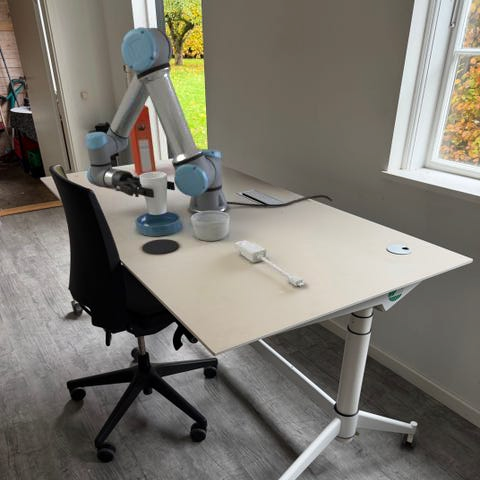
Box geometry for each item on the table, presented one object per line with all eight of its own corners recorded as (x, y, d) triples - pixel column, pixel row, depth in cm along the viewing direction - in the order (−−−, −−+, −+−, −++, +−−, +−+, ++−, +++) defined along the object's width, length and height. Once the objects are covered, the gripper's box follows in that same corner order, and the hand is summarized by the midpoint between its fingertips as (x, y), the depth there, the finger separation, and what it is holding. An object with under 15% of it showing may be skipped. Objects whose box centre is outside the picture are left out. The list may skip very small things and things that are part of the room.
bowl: (182, 220, 178) (181, 210, 176) (180, 236, 165) (179, 225, 163) (139, 221, 178) (138, 212, 176) (133, 237, 164) (132, 227, 162)
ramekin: (212, 226, 172) (212, 207, 169) (237, 235, 164) (237, 216, 161) (184, 236, 164) (183, 216, 161) (209, 246, 156) (208, 226, 153)
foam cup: (148, 218, 163) (143, 180, 156) (140, 210, 170) (135, 174, 163) (174, 213, 166) (170, 176, 159) (165, 206, 173) (161, 170, 166)
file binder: (140, 179, 230) (131, 108, 213) (134, 170, 244) (125, 103, 227) (156, 177, 232) (148, 106, 215) (150, 169, 246) (142, 102, 229)
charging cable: (295, 292, 129) (296, 282, 127) (233, 250, 152) (233, 240, 150) (309, 288, 131) (310, 277, 130) (246, 246, 154) (247, 237, 152)
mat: (179, 239, 162) (179, 238, 162) (177, 253, 152) (177, 252, 151) (144, 241, 161) (144, 239, 161) (140, 255, 151) (140, 254, 151)
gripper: (143, 183, 182) (186, 192, 171) (97, 198, 167) (141, 209, 156) (141, 164, 178) (184, 171, 167) (94, 177, 163) (138, 186, 152)
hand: (163, 189), depth 161 cm, fingers closed on foam cup, 9 cm apart
